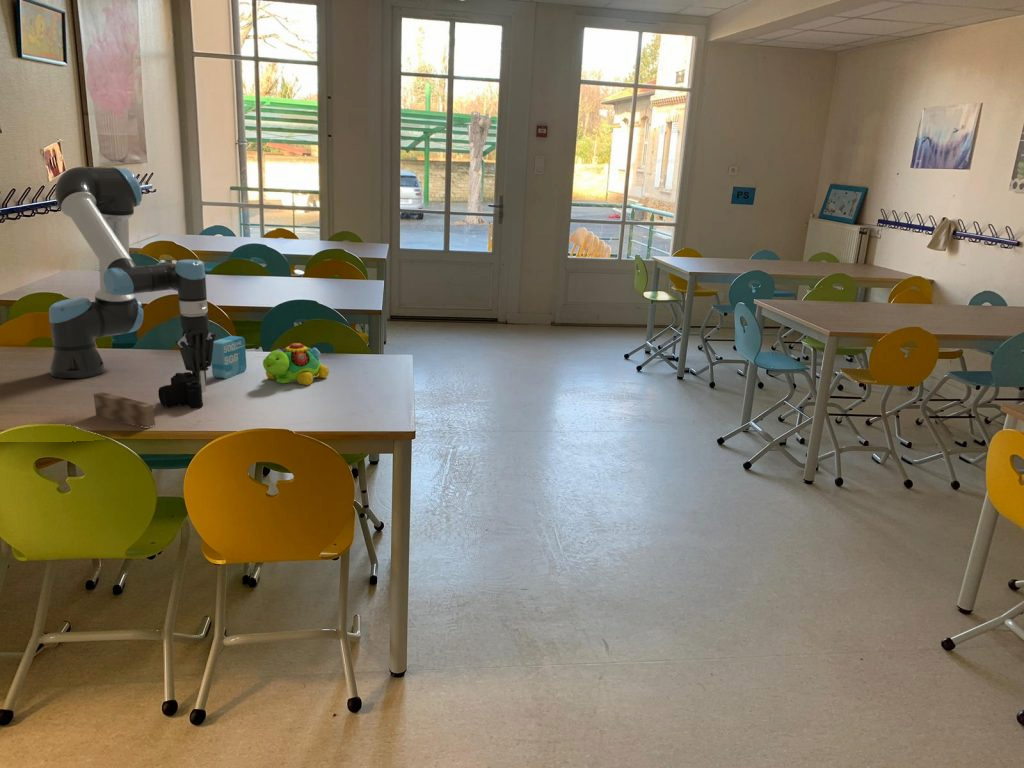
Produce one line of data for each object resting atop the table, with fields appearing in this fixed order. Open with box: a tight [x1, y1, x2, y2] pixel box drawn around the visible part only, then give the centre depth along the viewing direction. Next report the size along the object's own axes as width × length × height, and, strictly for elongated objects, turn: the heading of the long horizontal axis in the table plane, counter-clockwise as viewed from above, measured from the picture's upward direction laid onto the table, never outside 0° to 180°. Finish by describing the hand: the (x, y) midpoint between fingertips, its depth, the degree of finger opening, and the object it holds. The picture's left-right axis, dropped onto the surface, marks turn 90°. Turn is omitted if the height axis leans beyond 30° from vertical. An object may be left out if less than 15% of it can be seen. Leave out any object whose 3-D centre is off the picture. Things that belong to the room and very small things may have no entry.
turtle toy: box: [262, 342, 330, 386], centre depth 241 cm, size 17×23×12 cm
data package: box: [211, 335, 247, 380], centre depth 244 cm, size 12×4×12 cm, turn 163°
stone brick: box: [93, 391, 156, 428], centre depth 200 cm, size 20×2×6 cm, turn 64°
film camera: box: [157, 371, 204, 410], centre depth 214 cm, size 15×10×9 cm, turn 44°
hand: (200, 391), depth 222 cm, fingers closed
